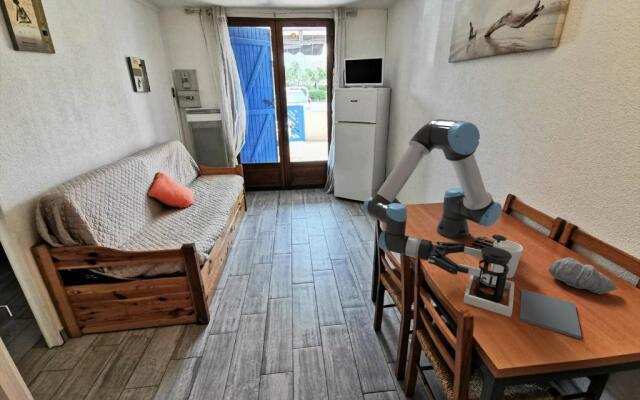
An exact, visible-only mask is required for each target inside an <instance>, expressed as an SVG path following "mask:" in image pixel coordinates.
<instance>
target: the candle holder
mask: <svg viewBox="0 0 640 400" xmlns="http://www.w3.org/2000/svg"><path fill="white" fill-rule="evenodd" d="M492 243H493V246H492V247H497V244H498V242H497V240H495V241H493V242H492ZM498 248H501V249H504V250H506V251H508V252H509V253H510V254H511V255H512V258H511V259H510V260H509V263H508V264H506V265H507V266H508V267H509V272H508V274H507V275H506V277H507V278H506V279H511V278H513V277H514V276H516V272H517V269H518V266H519V262H520V258H521V256H522V253H523V250H524V248H523V246H522V245H521V244H519V243H518V242H515V241H512V240H508V239H507V240H506V241H500V243H499V245H498ZM492 269H493V264H492V263H490V271H492ZM503 270H504V267H503V266H501V265H496V264H495V265H494V270H493V272H497V273H503Z"/></svg>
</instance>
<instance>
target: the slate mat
mask: <svg viewBox="0 0 640 400" xmlns="http://www.w3.org/2000/svg"><path fill="white" fill-rule="evenodd" d="M519 304H520V307H519V321H522V322H525V323H529V324H531V325H535V326H538V327H541V328H544V329H547V330H550V331H554V332H556V333H559V334H563V335H566V336H568V337H572V338H575V339H579V340H582V333H581V332H582V331H581V328H580V327H581V326H580V323H579V317H578V312H577V308H576V303H575V302H570V301H567V300H564V299H559V298H556V297H552V296H548V295H546V294H541V293H538V292H534V291H529V290H526V289H521V290H520V303H519Z"/></svg>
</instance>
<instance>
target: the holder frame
mask: <svg viewBox="0 0 640 400" xmlns="http://www.w3.org/2000/svg"><path fill="white" fill-rule="evenodd" d="M477 277H478V276H474V275H470V277H469V280H468V283H467V286H466V290H465V293H464V297H463V303H465V304H468V305H471V306H475V307H478V308H481V309H483V310H487V311H490V312H493V313H496V314H499V315H503V316H506V317H509V318H511V317H512V313H513V305H514V292H515V281H512V280H507V279H506V283H505V287H504V290H505V289H506V290H509V292H508V293H509V294H508V304H507V305H506V304H505V305H504V304H501V303H495V302H492V301H489V300H485V299H482V298H479V297H477V296H476V295H471V294H470V293H471V289H472V285H473V282H474V281H475V282H477Z"/></svg>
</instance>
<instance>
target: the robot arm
mask: <svg viewBox="0 0 640 400" xmlns="http://www.w3.org/2000/svg"><path fill="white" fill-rule="evenodd" d="M480 135H481V134H480V130H479V129H478V127H477V125H475V124H474V123H473V122H469V121H464V120H451V119H442V118H441V119H439V118H438V119H432V120H431V121H429V122H427V123H426V124H424V125H423V126H422V127H421V128H419V129H418V130H417V131H416V132H415V134H414V135H413V136H412V137H411V139H410V140H409V142H408V147H407V149H406V150H405V152H404V153H403V155H402V156H401V157H400V159H399V160H398V162H397V163H396V165H395V166H394V168H393V169H392V171H391V172H390V174H389V175H388V176H387V178H386V180H385V181H384V182H383V184H382V185H381V186H380V188H379V189H378V191H377V192H376V194H375V195H374V197H373V196H370V197H368V198H367V199H365V200H364V202H363V205H362V206H363V207H362V208H363V211H364V212H365V213H366V214H367V215H368V216H370V217H371V218H373V219H376V220H377V221H379V222H381V223H383V224H384V225H385V230H383V231H382V232H381V233H380V234H379V237H378V238H379V239H378V246H379V248H380V249H382V250H385V251H387V252H390V253H395V254H399V255H404V256H407V257H410V258H411V257H412V258H415V259H416V258H418V259H420V260H423V261H428V262H427V263H428V264H431V265H434V266H436V267H438V268H440V269H441V270H443V271H445V272H447V273H449V274H451V275H458V273H463V274H467V275H470V276H471V275H474V276H478V277H479V275H480V270H481V269H480V268H479V267H475V266H470V265H468V264H463V263H459V264H458V263H456V262H455V261H453V260H452V259H450V258H449V257H448V255H450V254H458V253H463V254H464V255H468V256H473V257H477V258H480V259H483V258H482V252H481V250H482V249H478V248H474V247H469V246H466V243H464V242H452V241H450V242H444V241H436V243H435V244H433V242H432V240H428V239H423V238H422V239H421V238H419V237H415V236H411V235H406V228H407V227H406V226H407V221H408V220H407V219H408V215H407V211H408V209H407V206H406V205H405V204H402V203H397V202H394V201H395V199H396V198H397V196H398V195H399V193H400V192H401V191H402V189H403V188H404V186H405V185H406V183H407V182H408V181H409V179H410V177H411V176H412V175H413V173H414V172H415V171H416V169H417V168H418V166H419V165H420V163H421V162H422V161H423V159H424V158H425V157H426V156H428V155H430V153H431V151H433V150H434V149H436V150H441V151H442V152H443V155H444V156H445V159H446V160H447V161H449V162H451V164H452V166H453V167H452V168H453V169H454V173H455V174H456V177H457V179H458V182H459V185H460V187H451V188H447V190H445V193H444V196H443V204H442V214H441V217H440V220H439V221H438V224H437V227H436V232H437V231H438V232H437V233H438V234H439V235H441V236H443V237H446V238H450V239H457V240H458V239H465V238H467V237H469V236H470V235H469V233H470V227H469V223H468V221H471V222H473V223H475V224H477V225H479V226H483V227H486V228H487V227H491V226H494V224H495V223H497V221H498V220H499V218H500V216H501V213H502V210H503V209H502V208H503V207H502V204H500V202H497V201H496V202H495V201H494V199H493V196H492V194H491V192H489V191H486V186H485V185H484V184H485V183H484V182H483V181H484V180H483V177H482V175H481V172H480V169H479V166H478V163H477V159H476V156H475V153H476V150H477V149H478V146H479V144H480V141H479V140H480V139H481V136H480ZM417 256H418V257H417Z"/></svg>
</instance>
